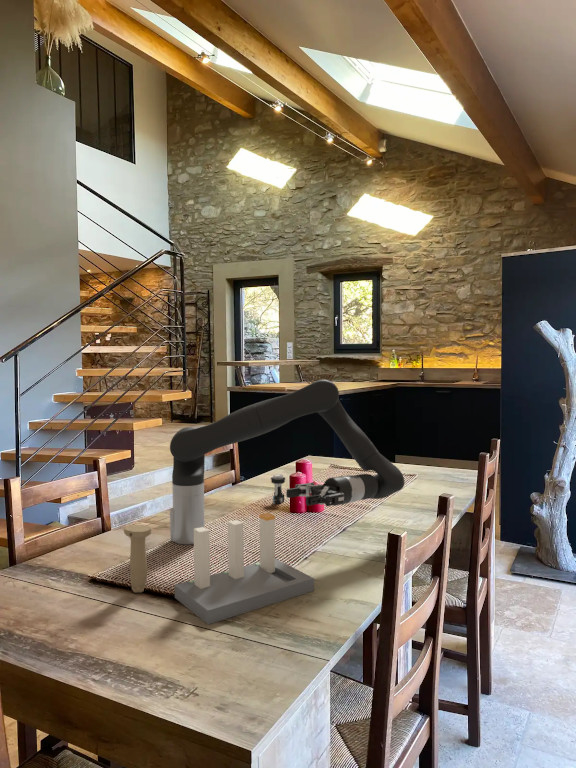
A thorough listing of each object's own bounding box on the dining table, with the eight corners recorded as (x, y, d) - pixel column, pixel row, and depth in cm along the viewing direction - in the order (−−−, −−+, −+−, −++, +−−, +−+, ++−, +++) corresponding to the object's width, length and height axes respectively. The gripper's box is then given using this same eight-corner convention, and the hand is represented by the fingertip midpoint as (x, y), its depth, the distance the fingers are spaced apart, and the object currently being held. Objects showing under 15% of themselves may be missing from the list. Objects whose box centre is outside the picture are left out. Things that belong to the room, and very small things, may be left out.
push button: (278, 506, 209) (278, 478, 208) (266, 504, 212) (266, 476, 211) (288, 501, 215) (288, 474, 214) (275, 499, 218) (275, 473, 217)
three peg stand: (208, 624, 121) (207, 549, 120) (174, 597, 134) (173, 529, 133) (313, 590, 137) (313, 523, 136) (275, 569, 150) (274, 508, 149)
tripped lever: (266, 574, 142) (266, 517, 141) (259, 570, 145) (259, 514, 144) (275, 572, 144) (275, 515, 143) (268, 568, 146) (267, 512, 145)
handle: (142, 597, 134) (141, 533, 133) (121, 591, 137) (120, 529, 136) (156, 589, 139) (155, 527, 138) (135, 584, 141) (134, 523, 140)
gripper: (328, 471, 166) (281, 477, 156) (362, 481, 154) (314, 489, 145) (327, 497, 166) (280, 505, 157) (361, 509, 155) (313, 518, 145)
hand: (296, 497), depth 151 cm, fingers open, 8 cm apart
